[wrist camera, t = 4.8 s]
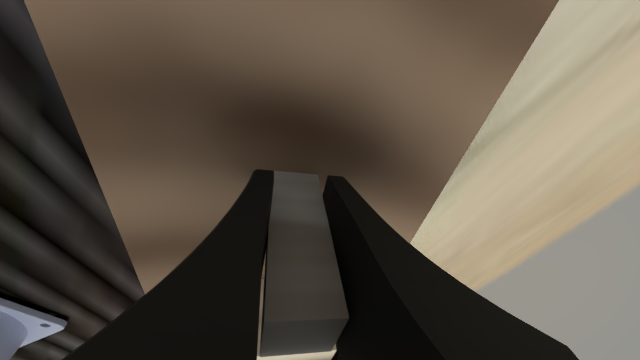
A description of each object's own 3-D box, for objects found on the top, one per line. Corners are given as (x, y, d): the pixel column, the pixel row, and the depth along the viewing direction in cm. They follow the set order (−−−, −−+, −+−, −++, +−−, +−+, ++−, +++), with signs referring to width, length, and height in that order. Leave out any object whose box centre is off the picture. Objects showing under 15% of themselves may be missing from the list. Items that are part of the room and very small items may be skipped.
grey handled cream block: (309, 322, 19) (319, 430, 14) (228, 326, 18) (209, 447, 13) (360, 178, 11) (422, 314, 6) (220, 166, 10) (163, 327, 5)
